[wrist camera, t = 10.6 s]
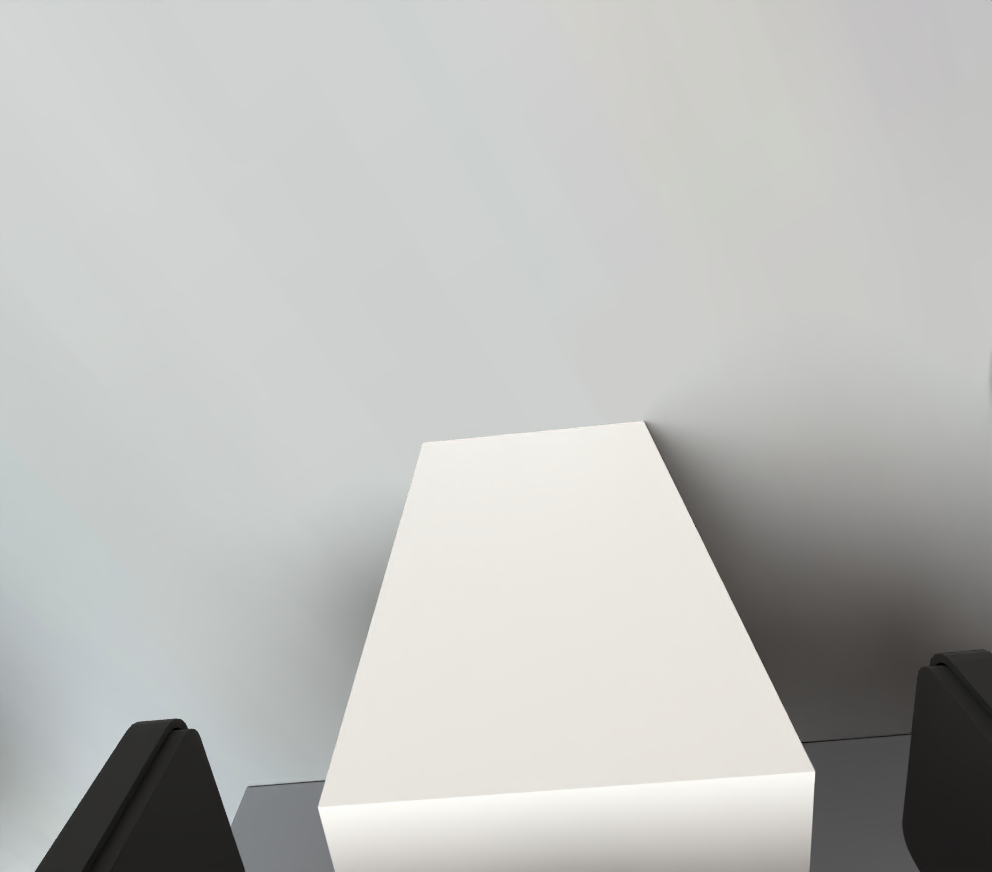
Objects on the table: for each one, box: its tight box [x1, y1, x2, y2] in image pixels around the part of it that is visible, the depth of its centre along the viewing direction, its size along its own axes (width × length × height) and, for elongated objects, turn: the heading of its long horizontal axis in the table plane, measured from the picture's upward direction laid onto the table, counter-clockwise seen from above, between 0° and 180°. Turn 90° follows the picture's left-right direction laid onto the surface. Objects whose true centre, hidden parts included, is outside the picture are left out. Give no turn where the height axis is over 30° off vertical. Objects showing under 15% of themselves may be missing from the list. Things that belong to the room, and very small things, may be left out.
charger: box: [318, 421, 815, 872], centre depth 11 cm, size 4×4×11 cm
